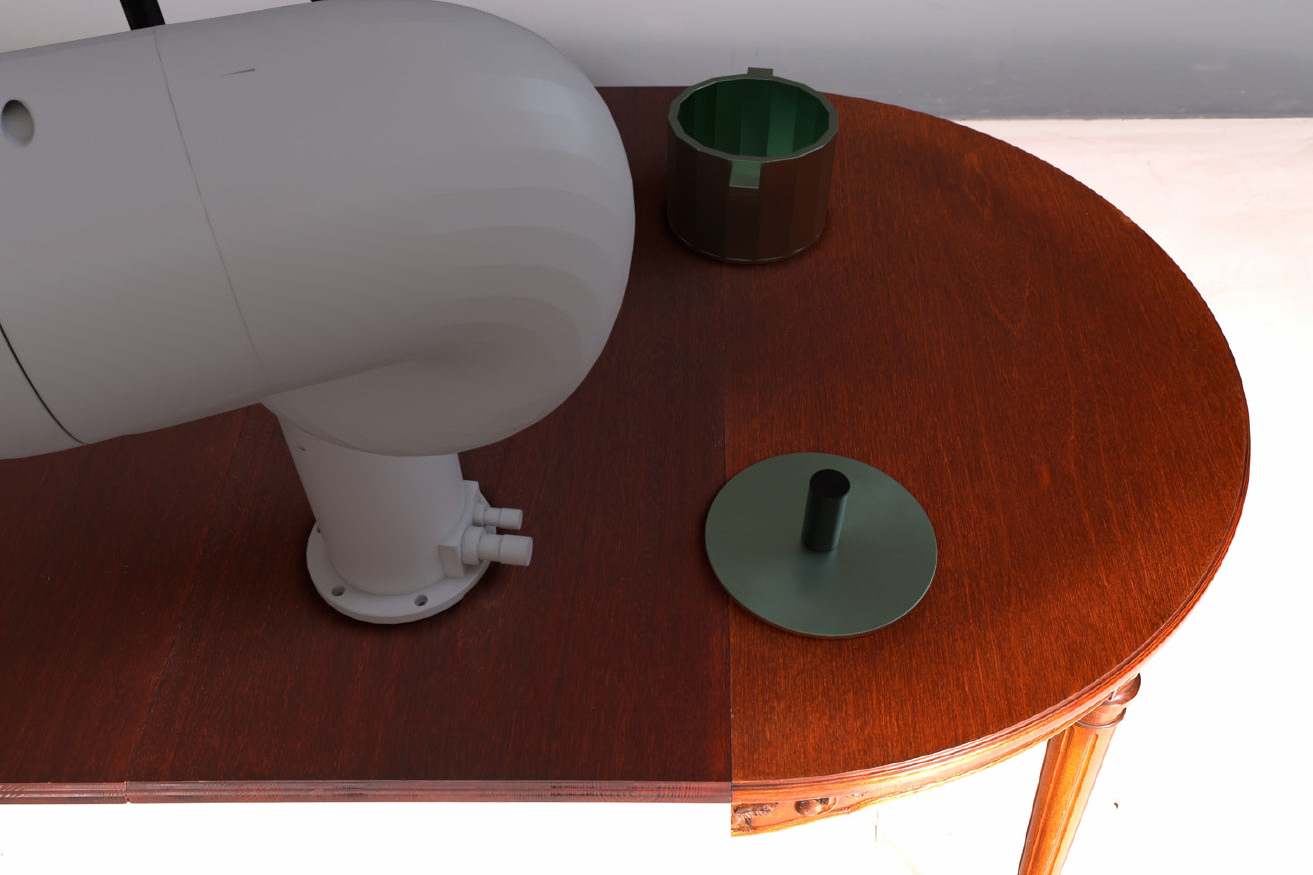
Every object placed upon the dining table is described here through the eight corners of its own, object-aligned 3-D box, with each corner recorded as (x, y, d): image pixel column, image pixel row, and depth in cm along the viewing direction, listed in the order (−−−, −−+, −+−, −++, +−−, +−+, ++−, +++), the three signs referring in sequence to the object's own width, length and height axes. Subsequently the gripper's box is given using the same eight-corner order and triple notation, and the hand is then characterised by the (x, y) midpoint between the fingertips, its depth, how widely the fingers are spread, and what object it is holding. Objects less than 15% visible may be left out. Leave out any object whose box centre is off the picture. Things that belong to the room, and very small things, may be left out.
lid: (929, 473, 76) (948, 409, 71) (939, 658, 65) (962, 598, 61) (716, 452, 77) (720, 387, 73) (692, 629, 67) (694, 568, 62)
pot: (826, 165, 104) (840, 65, 97) (820, 290, 91) (835, 186, 83) (681, 154, 106) (683, 55, 98) (654, 276, 92) (653, 172, 84)
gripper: (-50, -300, 42) (113, 101, 54) (349, -351, 49) (414, 12, 61) (-87, -327, 46) (72, 49, 58) (285, -371, 53) (357, -27, 65)
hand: (247, 30), depth 60 cm, fingers open, 9 cm apart
